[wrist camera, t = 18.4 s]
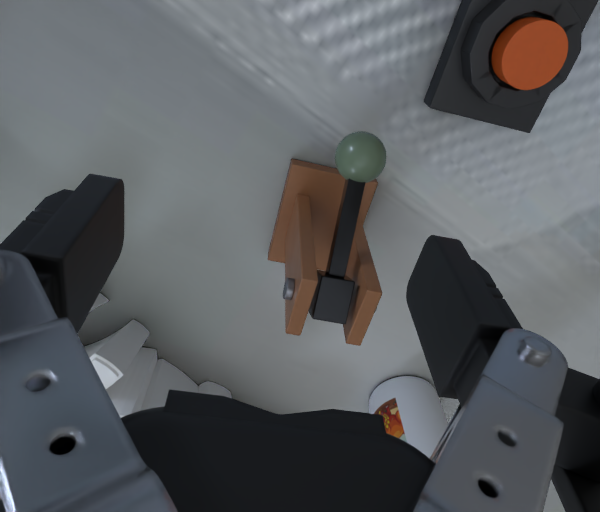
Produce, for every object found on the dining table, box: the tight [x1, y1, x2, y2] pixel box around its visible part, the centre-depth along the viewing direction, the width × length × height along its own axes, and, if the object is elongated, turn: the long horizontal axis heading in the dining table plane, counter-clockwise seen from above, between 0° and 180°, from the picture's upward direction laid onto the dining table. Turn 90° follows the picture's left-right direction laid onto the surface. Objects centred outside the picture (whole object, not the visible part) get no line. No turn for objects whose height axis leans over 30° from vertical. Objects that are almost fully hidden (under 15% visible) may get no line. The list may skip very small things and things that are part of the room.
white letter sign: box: [84, 293, 232, 418], centre depth 45 cm, size 35×16×11 cm, turn 35°
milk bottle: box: [369, 376, 448, 459], centre depth 43 cm, size 8×8×20 cm
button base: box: [424, 0, 598, 133], centre depth 31 cm, size 10×8×4 cm
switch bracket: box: [268, 159, 382, 346], centre depth 34 cm, size 9×7×13 cm
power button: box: [491, 17, 568, 90], centre depth 29 cm, size 4×4×2 cm
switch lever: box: [309, 132, 386, 324], centre depth 30 cm, size 12×3×3 cm, turn 167°
